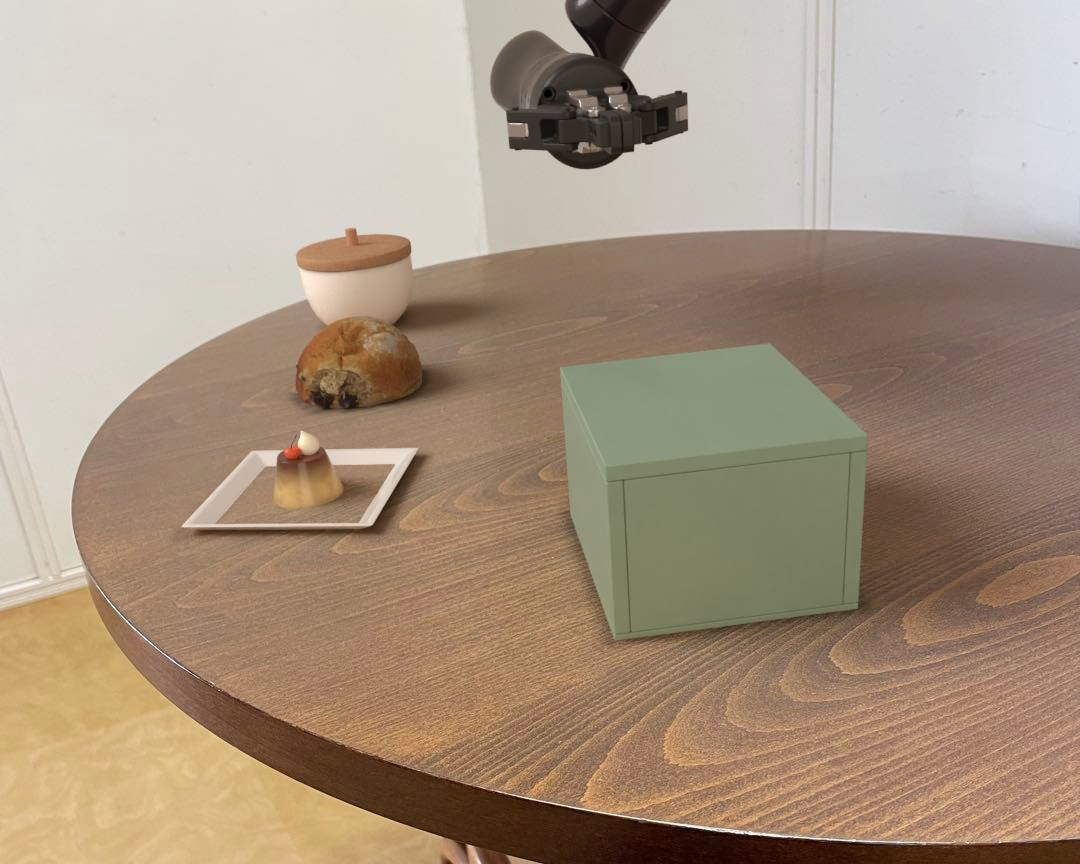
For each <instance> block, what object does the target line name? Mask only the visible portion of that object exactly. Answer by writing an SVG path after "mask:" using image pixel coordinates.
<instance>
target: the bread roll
mask: <svg viewBox="0 0 1080 864" xmlns="http://www.w3.org/2000/svg"><path fill="white" fill-rule="evenodd" d="M295 368H296V374H295V390H296V392H297V394H298V396H299V398H300V400H302V401H303V402H304V404H306V405H310V406H312V407H317V408H322V409H344V410H347V409H352V408H366V407H368V408H369V407H371V406H377V405H378V406H379V405H381V404H384V403H390V402H393V401H397V400H400V399H402V398H404V397H407V396H409V395H412V394H413V393H414V392H415V391H417V390H418V389H419V388H420V387H421V385H423V369H422V368H423V367H422V363H421V360H420V355H419V352H418V350H417V349H416V346H415V344H414V343H413V342H411V340H409V338H408V336H406V334H404V333H403V332H402V330H400V329H398V328H397V327H396V326H395V325H394V324H392V325H391V324H390V323H388V322H386V321H383V320H380V319H377V318H373V317H366V316H357V317H347V318H344V319H340V320H337V321H335V322H333V323H331V324H330V325H326V326H325V327H324V328H322V329H321V330H320V331H318V332H317V333H316V334H315V335H314V337H313V338H312V339H311V340H310V341H309V342H308V343H307V345H306V346H305V347H304V349H302V351H301V354H300V356H299V357H298V360H297V364H295Z"/></svg>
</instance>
